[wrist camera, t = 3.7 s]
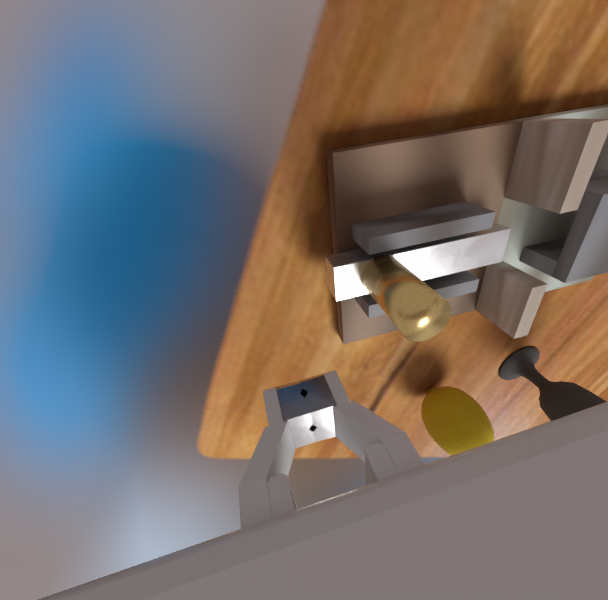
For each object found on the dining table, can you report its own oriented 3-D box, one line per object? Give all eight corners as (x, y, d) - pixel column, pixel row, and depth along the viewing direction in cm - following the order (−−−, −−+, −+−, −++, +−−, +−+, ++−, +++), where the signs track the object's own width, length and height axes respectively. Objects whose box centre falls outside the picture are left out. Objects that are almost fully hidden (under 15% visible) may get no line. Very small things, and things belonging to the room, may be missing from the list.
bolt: (327, 288, 20) (368, 355, 15) (324, 254, 19) (369, 313, 13) (482, 253, 22) (572, 300, 16) (490, 218, 20) (592, 258, 15)
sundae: (482, 387, 35) (628, 539, 22) (508, 343, 31) (697, 493, 19) (526, 381, 36) (685, 519, 24) (555, 338, 33) (758, 473, 20)
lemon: (405, 382, 30) (456, 456, 24) (454, 363, 31) (518, 431, 24) (408, 412, 34) (455, 485, 27) (453, 395, 34) (509, 462, 27)
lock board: (338, 334, 25) (363, 381, 20) (326, 150, 17) (361, 162, 13) (578, 273, 28) (643, 302, 24) (659, 95, 20) (777, 90, 16)
